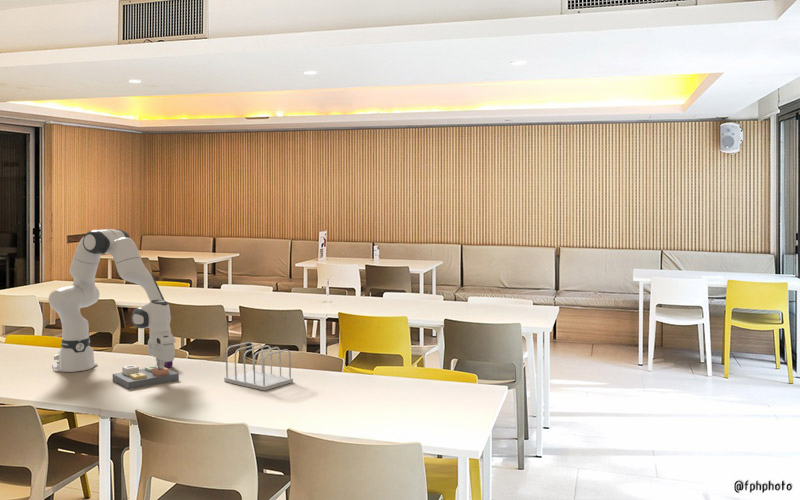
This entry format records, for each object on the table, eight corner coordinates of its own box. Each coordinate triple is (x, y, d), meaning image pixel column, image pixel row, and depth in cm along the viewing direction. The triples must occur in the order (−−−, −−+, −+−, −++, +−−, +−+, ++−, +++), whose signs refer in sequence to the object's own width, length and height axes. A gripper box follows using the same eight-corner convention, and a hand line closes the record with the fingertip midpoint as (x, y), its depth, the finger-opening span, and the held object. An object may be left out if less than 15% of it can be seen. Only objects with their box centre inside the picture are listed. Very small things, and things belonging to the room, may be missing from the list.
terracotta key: (152, 375, 297) (152, 368, 297) (163, 373, 301) (163, 366, 301) (157, 378, 294) (157, 370, 293) (168, 376, 297) (168, 368, 297)
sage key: (145, 374, 303) (145, 366, 303) (156, 372, 307) (156, 365, 307) (149, 376, 300) (149, 369, 299) (161, 374, 303) (161, 367, 303)
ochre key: (129, 381, 291) (129, 374, 291) (141, 379, 294) (141, 372, 294) (134, 384, 287) (134, 376, 287) (146, 382, 291) (146, 374, 290)
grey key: (122, 373, 296) (122, 366, 296) (134, 371, 300) (134, 364, 300) (127, 376, 293) (126, 368, 292) (138, 374, 296) (138, 366, 296)
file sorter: (293, 382, 296) (293, 347, 295) (264, 391, 282) (264, 355, 281) (253, 373, 311) (253, 340, 309) (223, 382, 296) (223, 346, 295)
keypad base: (112, 380, 296) (112, 373, 296) (161, 372, 311) (161, 365, 311) (128, 389, 283) (128, 382, 283) (178, 380, 298) (178, 373, 298)
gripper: (143, 334, 302) (144, 365, 303) (163, 341, 287) (163, 373, 288) (157, 332, 306) (158, 362, 307) (177, 339, 291) (177, 371, 292)
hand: (160, 368), depth 297 cm, fingers closed, pressing on terracotta key
